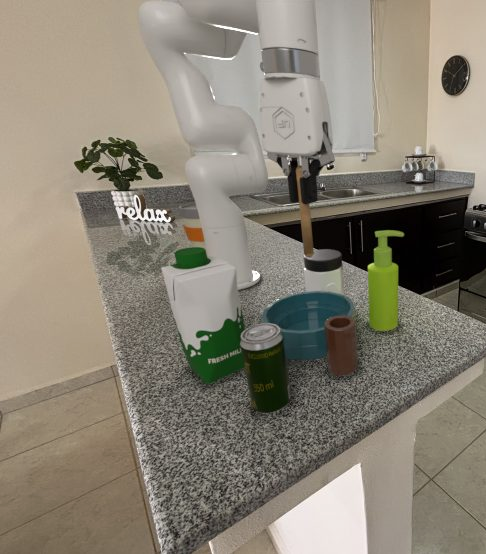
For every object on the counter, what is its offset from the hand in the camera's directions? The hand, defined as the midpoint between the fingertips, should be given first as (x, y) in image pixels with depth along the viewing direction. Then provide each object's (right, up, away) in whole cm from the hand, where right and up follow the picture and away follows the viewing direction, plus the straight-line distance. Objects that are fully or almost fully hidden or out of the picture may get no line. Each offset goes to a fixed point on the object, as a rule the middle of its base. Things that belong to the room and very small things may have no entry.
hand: (304, 201), depth 56 cm
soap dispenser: (+12, -22, +17) cm, 30 cm away
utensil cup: (+6, -28, +3) cm, 28 cm away
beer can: (-3, -31, -5) cm, 31 cm away
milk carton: (-15, -28, +3) cm, 31 cm away
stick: (0, -9, +4) cm, 10 cm away
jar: (-3, -19, +25) cm, 31 cm away
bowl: (-2, -24, +12) cm, 27 cm away
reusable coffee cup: (-48, -4, +58) cm, 75 cm away
